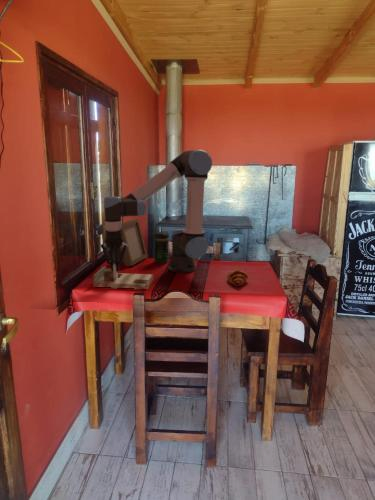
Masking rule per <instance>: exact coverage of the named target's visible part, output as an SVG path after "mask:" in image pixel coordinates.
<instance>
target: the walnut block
mask: <svg viewBox="0 0 375 500" xmlns="http://www.w3.org/2000/svg"><path fill="white" fill-rule="evenodd" d="M103 274H104V281H113V282H114V281H115V280H116V279H114V274H113V271H111V267H110V268H108V267H106V269H105V270H104V271H103Z"/></svg>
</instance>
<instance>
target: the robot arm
mask: <svg viewBox="0 0 375 500" xmlns="http://www.w3.org/2000/svg"><path fill="white" fill-rule="evenodd" d="M212 160H213V159H212V157H211V155H210V154H209V153H208V152H207V151H205V150H203V149H191V150H186V151H183V152H182V153H180V154H179V155H177V156H176V157H175V158H174V159H172V160H171V161H169V162H168V165H167V166H166V167H164V168H163V169H162V170H161V171H159V172H158V173H156V174H155V175H154V176H152V177H151V178H150V179H148V180H147V181H145V182H144V183H143V184H141V185H140V186H138V187H137V188H136V189H134V190H133V191H132V192H130V193H129V194H127V195H126V196H123V197H120V196H114V195H113V196H106V197H104V200H103V210H104V226H105V227H104V229H105V232H104V233H105V241H104V242H103V243H102V244H100V247H101V249H102V252H103V253H104V258H105V261H106V263H107V264H108V265H110V268H111V271H113V274H114V279H117V277H118V272H120V265H122V264H124V261H123V260H124V255H125V251H126V248H127V246H128V244H125V243H123V240H122V231H121V230H120V229H121V228H122V227H121V223H122V218H123V217H124V218H125V217H141V216H145V215H146V213H147V203H146V201H147V200H149V199H150V198H151V197H153V196H154V195H156V194H157V193H158V192H160V191H161V190H162V189H164V188H165V187H167V186H168V185H169V184H170V183H172V182H173V181H175V180H176V179H181V178H182V177H183V176H184V179H185V180H186V185H187V186H186V209H185V212H186V213H185V228H178V229H177V228H176V229H173V230H172V234H171V247H172V249H171V251H172V252H171V253H172V254H171V255H172V256H171V258H170V262H169V264H168V266H169V267H168V269H169V271H171V272H174V273H178V274H179V273H191V272H195V271H196V270H197V268H196V267H197V266H196V262H195V259H200V258H202V257H203V256H204V255H205V254H206V253H207V252H208V248H209V243H208V241H207V239H206V238H205V236H206V232H205V230H204V229H203V218H204V215H203V214H204V198H205V197H204V196H205V195H204V194H205V182H206V181H207V179H208V176H209V174H208V173H210V171H211V170H212V168H213V167H212V166H213V161H212ZM121 245H122V248H123V249H122V252H121V257H120V261H119V248H120V247H121ZM108 249H109V250H108ZM114 255H115V260H116V263H115V261H114Z"/></svg>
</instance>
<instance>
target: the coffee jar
mask: <svg viewBox="0 0 375 500" xmlns="http://www.w3.org/2000/svg"><path fill="white" fill-rule="evenodd" d="M169 242H170V234H169V232H168V231H165V230H163V231H159V232H157V233H155V234H154V262H155V263H157V264H166V263H168V262H169V260H170V257H169V256H170V251H169V249H170V248H169V246H170V245H169V244H170V243H169Z"/></svg>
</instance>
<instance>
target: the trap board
mask: <svg viewBox="0 0 375 500" xmlns="http://www.w3.org/2000/svg"><path fill="white" fill-rule="evenodd" d="M105 269H107V267H106V266H105V265H104V266H102V267H101V268H100V269H99V270H98V271H96V272H95V274H93V275H92V279H93V284H92V285H93V287H94V286H98V287H111V288H110V289H117V288H134V289H133V290H142V289H147V290H148V289H149V288H150V286H151V284H152V282H153V280H154V274H153V273H152V274H148V273H147V274H146V273H123V272H121V273H120V272H119V273H118V277H117V279H116V280H115V281H114V282H113V281H104V274H103V271H104V270H105Z"/></svg>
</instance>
